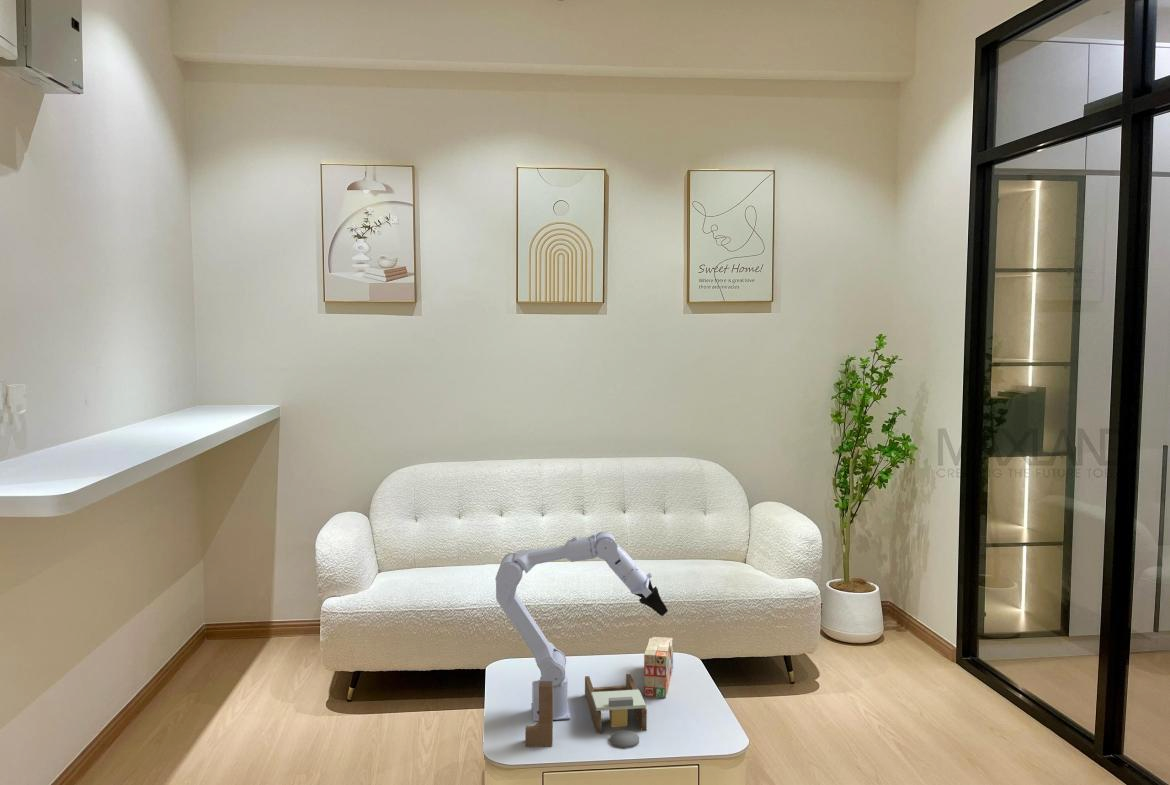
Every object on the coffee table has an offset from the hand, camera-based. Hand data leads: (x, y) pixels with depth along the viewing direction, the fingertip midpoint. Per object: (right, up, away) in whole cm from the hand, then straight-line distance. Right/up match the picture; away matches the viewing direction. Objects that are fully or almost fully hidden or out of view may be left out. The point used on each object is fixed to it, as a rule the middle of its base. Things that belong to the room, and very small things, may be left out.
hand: (661, 609), depth 210 cm
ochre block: (-12, -28, -3) cm, 31 cm away
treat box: (-12, -28, +3) cm, 31 cm away
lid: (-12, -23, -3) cm, 26 cm away
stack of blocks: (+1, -27, +22) cm, 35 cm away
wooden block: (-31, -29, -14) cm, 45 cm away
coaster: (-10, -29, -12) cm, 33 cm away
